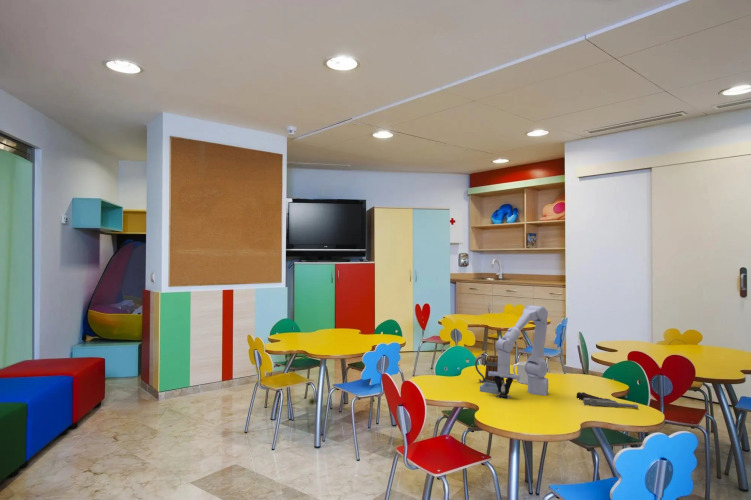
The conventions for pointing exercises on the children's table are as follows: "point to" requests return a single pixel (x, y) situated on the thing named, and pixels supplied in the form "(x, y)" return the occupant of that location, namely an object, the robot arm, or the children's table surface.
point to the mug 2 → (521, 372)
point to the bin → (489, 388)
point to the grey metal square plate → (502, 397)
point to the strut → (503, 390)
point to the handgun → (601, 401)
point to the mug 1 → (489, 368)
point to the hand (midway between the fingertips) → (503, 392)
